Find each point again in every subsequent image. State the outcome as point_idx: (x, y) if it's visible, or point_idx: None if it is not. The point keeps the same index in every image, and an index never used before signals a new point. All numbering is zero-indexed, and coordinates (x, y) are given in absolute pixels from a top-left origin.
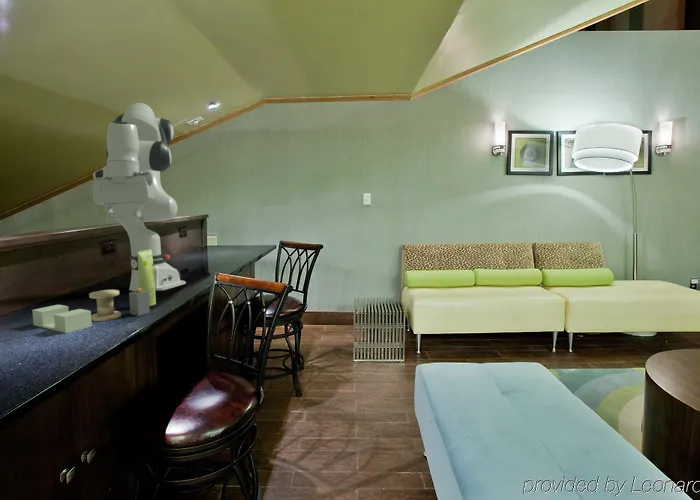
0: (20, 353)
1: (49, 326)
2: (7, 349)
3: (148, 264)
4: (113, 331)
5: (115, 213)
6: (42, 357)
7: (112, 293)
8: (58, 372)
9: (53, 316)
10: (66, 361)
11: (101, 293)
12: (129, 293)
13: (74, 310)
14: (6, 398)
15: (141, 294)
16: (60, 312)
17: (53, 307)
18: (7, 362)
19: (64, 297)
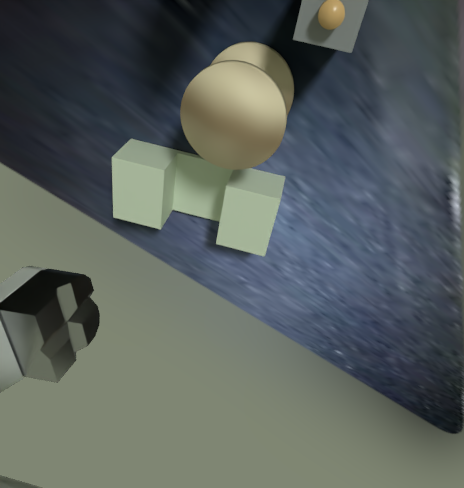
0: (294, 323)
1: (194, 212)
2: (250, 312)
3: None
4: (384, 201)
5: (44, 316)
6: (353, 334)
7: (280, 129)
8: (437, 373)
9: (168, 197)
10: (415, 344)
11: (237, 139)
12: (296, 39)
13: (228, 203)
14: (429, 422)
15: (358, 26)
16: (167, 184)
17: (136, 187)
18: (313, 350)
19: None
